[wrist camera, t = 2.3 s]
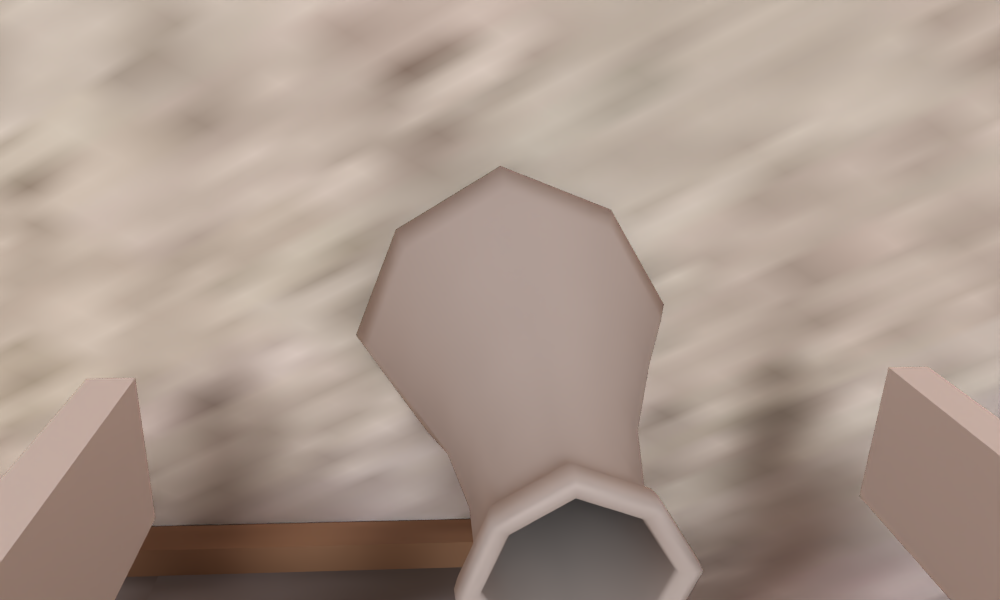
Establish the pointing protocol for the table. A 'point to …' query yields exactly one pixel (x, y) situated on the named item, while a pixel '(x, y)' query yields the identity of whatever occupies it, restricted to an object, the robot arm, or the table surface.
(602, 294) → the flask
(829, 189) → the table surface
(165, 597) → the rectangular tray
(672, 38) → the table surface
